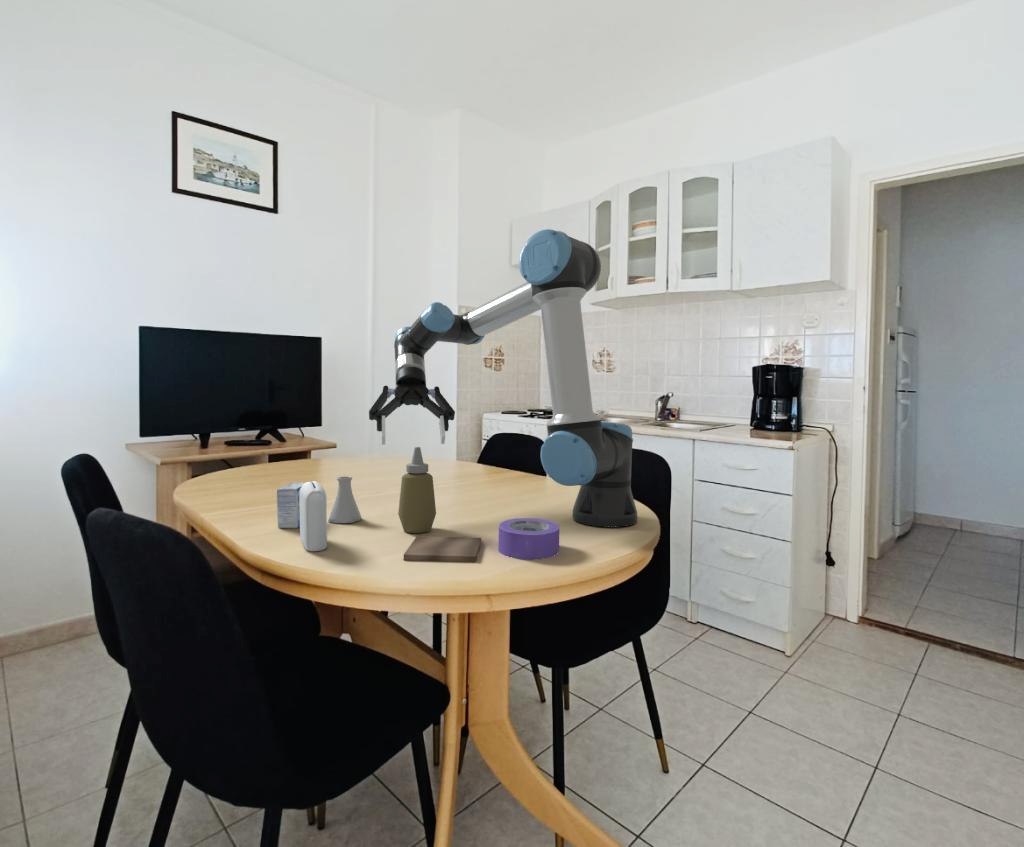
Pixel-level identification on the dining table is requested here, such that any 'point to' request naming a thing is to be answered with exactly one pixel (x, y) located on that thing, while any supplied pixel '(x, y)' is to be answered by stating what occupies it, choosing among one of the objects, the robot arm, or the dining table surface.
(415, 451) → the squeeze bottle
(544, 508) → the dining table surface
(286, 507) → the medicine box
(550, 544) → the tape roll
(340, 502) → the flask
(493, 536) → the dining table surface
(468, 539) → the plate
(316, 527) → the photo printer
